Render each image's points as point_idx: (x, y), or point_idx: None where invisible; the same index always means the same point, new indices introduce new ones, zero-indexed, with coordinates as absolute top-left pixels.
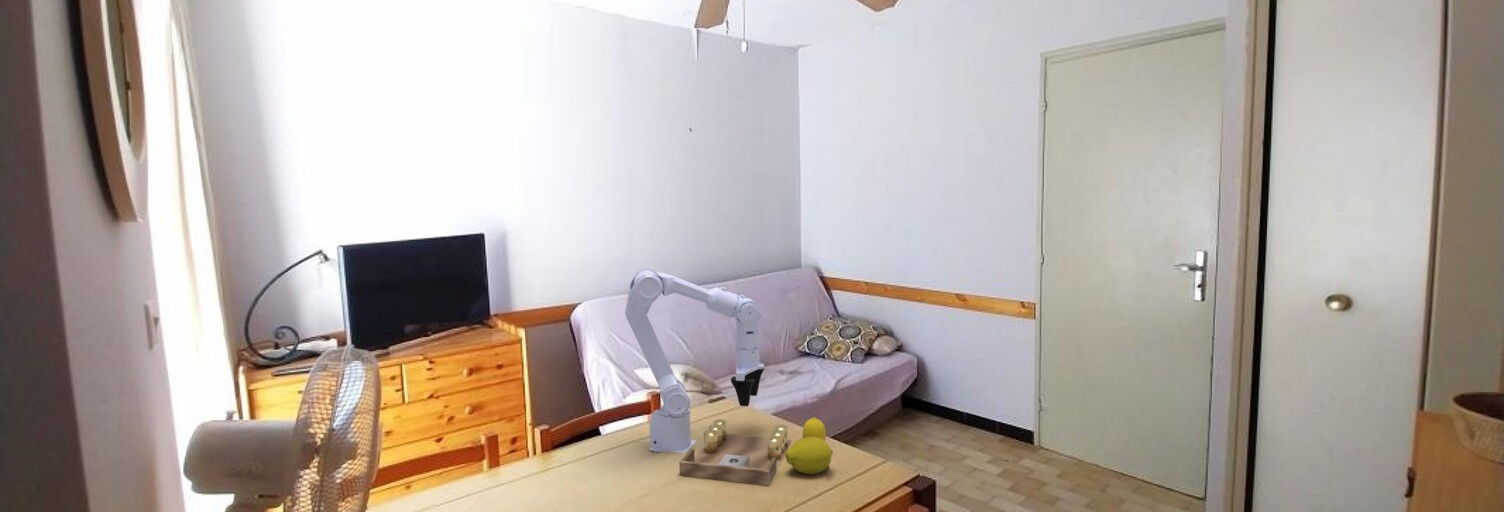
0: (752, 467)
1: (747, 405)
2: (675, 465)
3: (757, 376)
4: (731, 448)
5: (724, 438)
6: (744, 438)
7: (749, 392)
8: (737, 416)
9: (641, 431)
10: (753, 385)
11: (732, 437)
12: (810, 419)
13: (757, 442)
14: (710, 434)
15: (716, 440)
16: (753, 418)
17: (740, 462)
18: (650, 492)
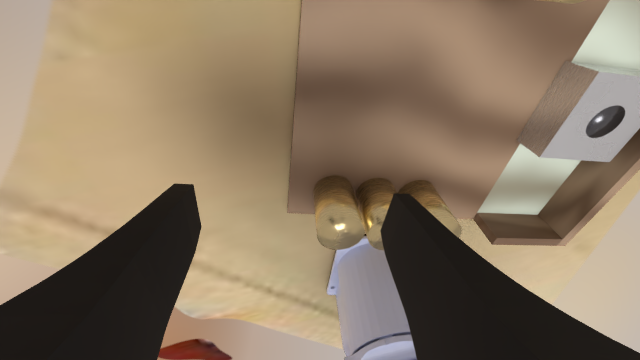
0: (573, 49)
1: (413, 199)
2: (467, 238)
3: (94, 342)
4: (403, 148)
5: (347, 183)
6: (318, 123)
7: (497, 270)
8: (102, 184)
9: (294, 321)
10: (163, 264)
11: (315, 162)
12: None
13: (353, 67)
14: (453, 233)
15: (441, 204)
16: (85, 127)
17: (631, 96)
18: (576, 242)
